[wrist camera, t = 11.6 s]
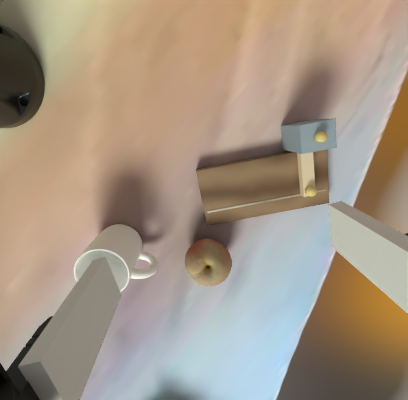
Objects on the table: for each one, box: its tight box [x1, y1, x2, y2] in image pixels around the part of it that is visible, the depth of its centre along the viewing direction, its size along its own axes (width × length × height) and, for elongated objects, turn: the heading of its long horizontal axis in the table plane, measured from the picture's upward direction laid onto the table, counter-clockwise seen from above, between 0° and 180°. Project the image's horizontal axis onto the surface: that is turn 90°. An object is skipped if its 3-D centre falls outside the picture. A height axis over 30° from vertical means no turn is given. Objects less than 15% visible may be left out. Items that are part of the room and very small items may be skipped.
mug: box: [74, 224, 158, 292], centre depth 43 cm, size 12×8×10 cm
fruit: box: [185, 238, 232, 286], centre depth 44 cm, size 8×8×8 cm
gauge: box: [281, 118, 337, 197], centre depth 39 cm, size 12×5×9 cm, turn 11°
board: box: [196, 149, 329, 226], centre depth 44 cm, size 10×22×2 cm, turn 101°
